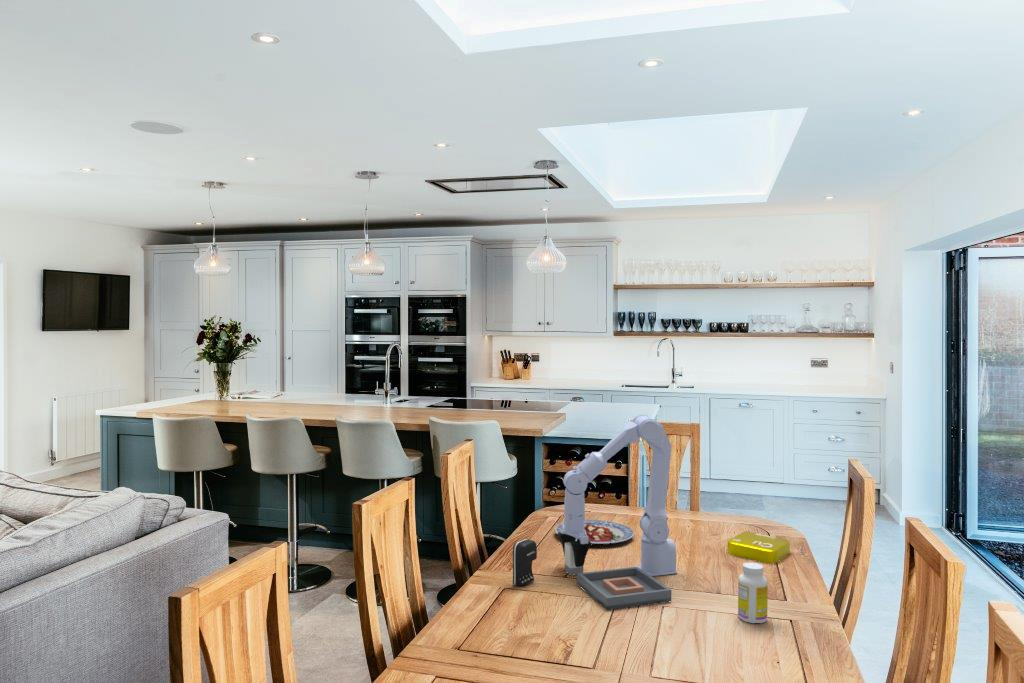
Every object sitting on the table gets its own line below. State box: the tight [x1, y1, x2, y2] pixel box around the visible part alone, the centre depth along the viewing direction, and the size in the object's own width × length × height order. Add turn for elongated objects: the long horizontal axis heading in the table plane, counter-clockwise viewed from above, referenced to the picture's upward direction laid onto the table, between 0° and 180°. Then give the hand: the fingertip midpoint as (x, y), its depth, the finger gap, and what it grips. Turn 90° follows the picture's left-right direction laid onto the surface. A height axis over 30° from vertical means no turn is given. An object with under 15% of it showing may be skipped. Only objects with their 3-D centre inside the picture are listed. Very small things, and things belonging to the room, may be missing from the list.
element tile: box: [726, 531, 791, 564], centre depth 220 cm, size 15×15×5 cm
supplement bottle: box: [737, 562, 769, 624], centre depth 171 cm, size 7×7×13 cm
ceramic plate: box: [554, 519, 635, 545], centre depth 235 cm, size 26×26×3 cm
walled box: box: [576, 566, 672, 611], centre depth 186 cm, size 18×18×3 cm
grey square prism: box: [564, 542, 584, 576], centre depth 202 cm, size 4×4×8 cm
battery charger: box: [512, 538, 538, 587], centre depth 193 cm, size 7×4×11 cm, turn 143°
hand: (573, 561), depth 202 cm, fingers open, 7 cm apart
